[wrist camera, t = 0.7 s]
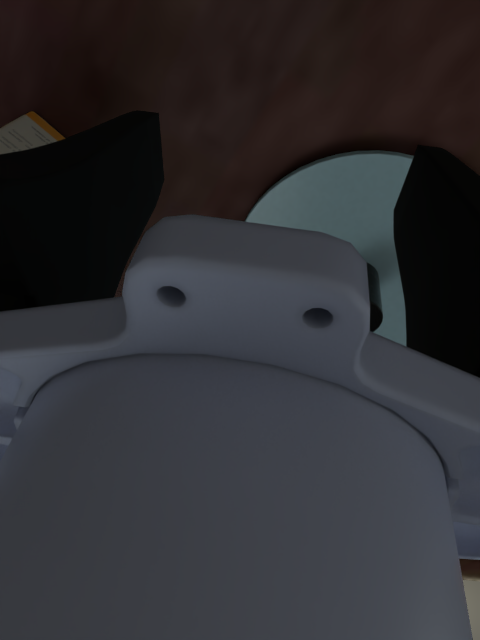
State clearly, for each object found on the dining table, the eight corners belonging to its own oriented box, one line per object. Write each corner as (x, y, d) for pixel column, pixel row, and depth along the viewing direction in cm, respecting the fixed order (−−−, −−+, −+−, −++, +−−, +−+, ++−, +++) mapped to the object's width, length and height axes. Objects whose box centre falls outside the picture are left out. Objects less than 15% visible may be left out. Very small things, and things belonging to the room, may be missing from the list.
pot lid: (448, 362, 30) (461, 418, 26) (240, 341, 32) (228, 391, 28) (538, 149, 20) (579, 194, 17) (231, 141, 22) (210, 179, 19)
